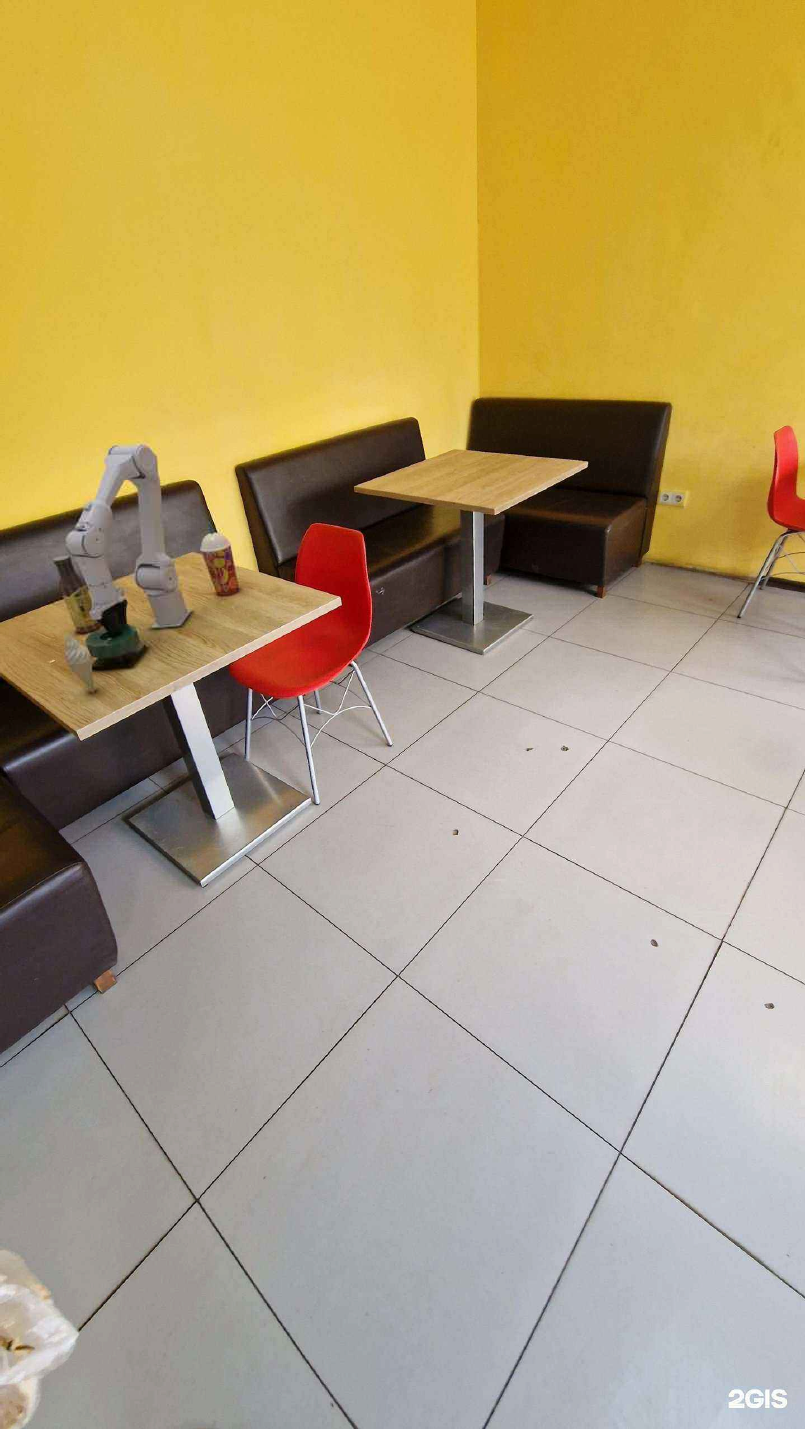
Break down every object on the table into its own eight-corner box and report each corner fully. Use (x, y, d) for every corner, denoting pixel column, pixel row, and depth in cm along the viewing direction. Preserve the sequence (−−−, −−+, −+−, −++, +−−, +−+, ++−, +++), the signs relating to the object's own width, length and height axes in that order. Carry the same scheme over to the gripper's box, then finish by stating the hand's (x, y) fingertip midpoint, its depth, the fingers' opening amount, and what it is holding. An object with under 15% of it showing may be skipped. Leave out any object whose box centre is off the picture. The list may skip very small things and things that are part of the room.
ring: (102, 637, 157) (98, 626, 155) (147, 633, 156) (143, 622, 155) (81, 660, 148) (76, 648, 146) (129, 656, 147) (124, 644, 145)
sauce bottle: (92, 633, 168) (62, 562, 157) (72, 633, 170) (41, 563, 159) (106, 623, 174) (78, 553, 163) (87, 623, 175) (58, 554, 164)
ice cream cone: (98, 683, 144) (72, 624, 136) (109, 689, 141) (83, 629, 133) (77, 694, 141) (49, 633, 133) (88, 700, 138) (60, 639, 130)
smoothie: (212, 589, 186) (193, 522, 175) (240, 583, 188) (223, 516, 177) (214, 599, 180) (194, 530, 168) (243, 593, 181) (225, 524, 170)
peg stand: (108, 651, 158) (100, 631, 155) (147, 648, 157) (139, 627, 154) (91, 671, 150) (82, 650, 147) (131, 667, 149) (123, 647, 146)
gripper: (102, 592, 141) (123, 646, 148) (128, 568, 153) (146, 619, 160) (72, 595, 141) (95, 648, 149) (100, 571, 153) (120, 621, 161)
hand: (120, 633), depth 154 cm, fingers closed on ring, 3 cm apart
